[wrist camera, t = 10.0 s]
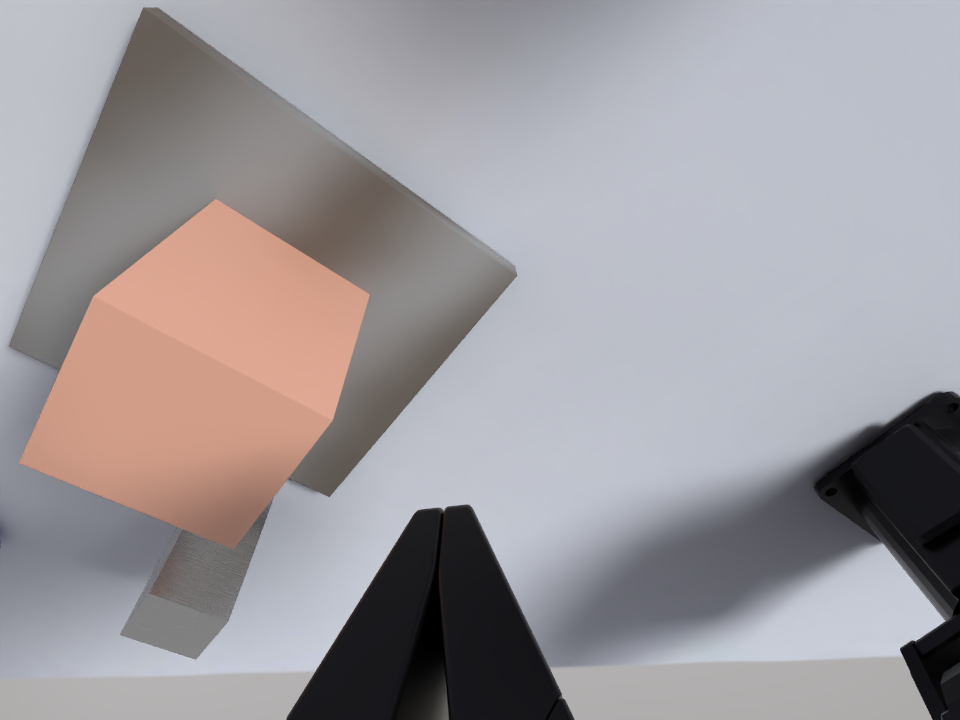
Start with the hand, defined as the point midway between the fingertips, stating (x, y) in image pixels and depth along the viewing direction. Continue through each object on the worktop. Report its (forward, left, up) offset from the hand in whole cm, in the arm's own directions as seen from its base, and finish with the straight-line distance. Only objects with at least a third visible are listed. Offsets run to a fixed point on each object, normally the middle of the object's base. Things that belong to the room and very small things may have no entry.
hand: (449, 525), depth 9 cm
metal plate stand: (+4, +5, -12) cm, 13 cm away
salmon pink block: (+4, +5, -11) cm, 13 cm away
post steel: (+1, +14, -12) cm, 18 cm away
